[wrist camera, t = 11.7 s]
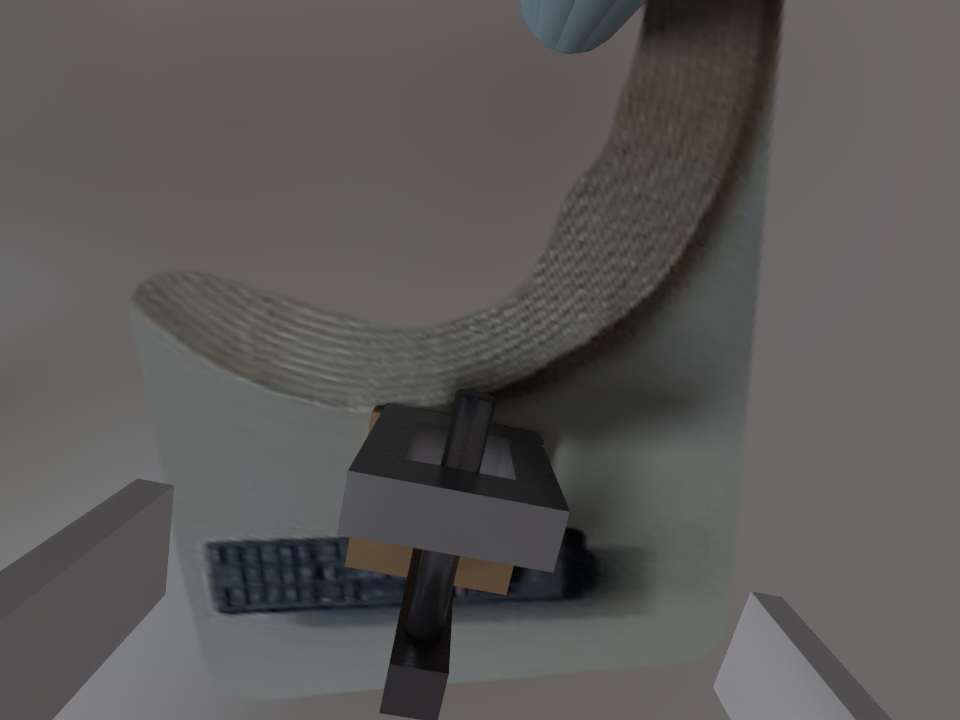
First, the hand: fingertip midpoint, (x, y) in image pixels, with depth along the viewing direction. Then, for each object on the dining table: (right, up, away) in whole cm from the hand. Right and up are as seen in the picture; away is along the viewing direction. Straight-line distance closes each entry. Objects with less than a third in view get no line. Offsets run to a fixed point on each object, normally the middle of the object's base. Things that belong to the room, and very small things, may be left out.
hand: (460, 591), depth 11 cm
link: (-1, +1, +14) cm, 14 cm away
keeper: (-1, -1, +18) cm, 18 cm away
